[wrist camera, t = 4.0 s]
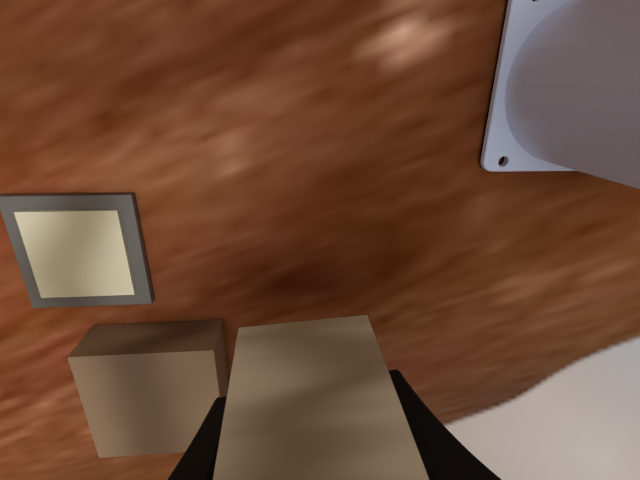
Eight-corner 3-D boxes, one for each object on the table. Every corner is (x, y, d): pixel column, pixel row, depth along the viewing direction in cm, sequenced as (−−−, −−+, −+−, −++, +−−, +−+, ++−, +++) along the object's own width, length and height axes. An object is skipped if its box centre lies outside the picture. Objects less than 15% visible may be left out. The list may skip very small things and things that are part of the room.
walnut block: (223, 316, 22) (213, 350, 19) (233, 407, 24) (226, 449, 21) (96, 321, 21) (67, 357, 18) (120, 414, 24) (99, 457, 21)
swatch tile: (134, 192, 18) (129, 196, 17) (154, 299, 20) (150, 305, 20) (1, 194, 18) (-8, 197, 17) (37, 303, 20) (30, 310, 19)
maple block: (366, 314, 13) (429, 480, 8) (367, 409, 15) (418, 599, 9) (238, 327, 13) (207, 509, 7) (254, 422, 15) (238, 626, 9)
